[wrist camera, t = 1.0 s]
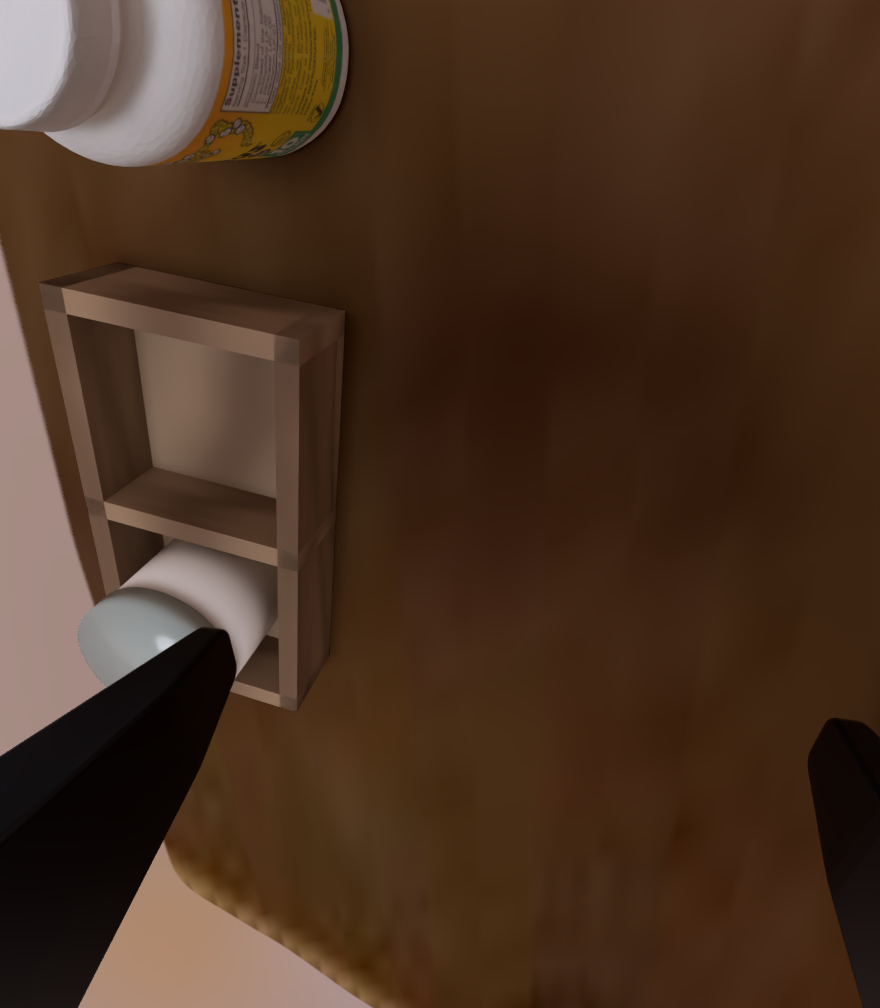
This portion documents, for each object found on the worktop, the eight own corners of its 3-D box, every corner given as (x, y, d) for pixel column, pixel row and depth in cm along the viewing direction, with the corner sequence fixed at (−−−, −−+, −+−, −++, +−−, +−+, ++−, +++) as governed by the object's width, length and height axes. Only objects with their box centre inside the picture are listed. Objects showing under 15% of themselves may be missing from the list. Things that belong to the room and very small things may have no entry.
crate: (345, 310, 21) (299, 340, 18) (329, 654, 29) (296, 712, 26) (116, 262, 22) (38, 282, 19) (167, 607, 31) (119, 656, 28)
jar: (296, 533, 25) (215, 631, 20) (295, 633, 28) (225, 740, 23) (170, 499, 26) (63, 586, 21) (183, 600, 29) (93, 697, 24)
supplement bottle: (367, -55, 16) (99, -251, 8) (340, 178, 18) (126, 213, 11) (174, -103, 16) (-269, -334, 8) (178, 132, 19) (-144, 132, 11)
